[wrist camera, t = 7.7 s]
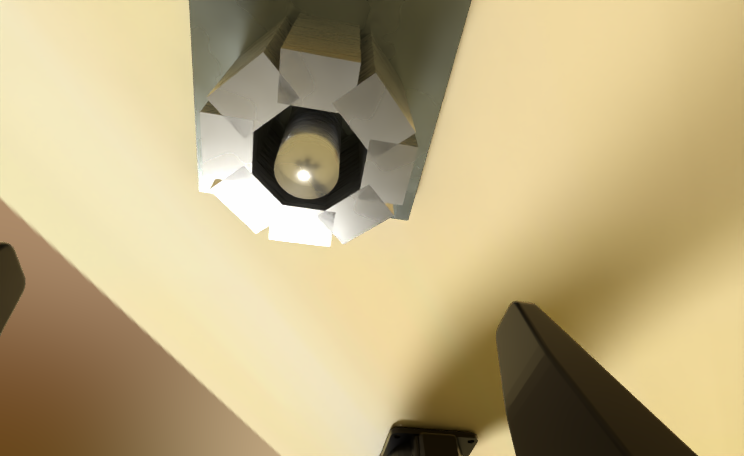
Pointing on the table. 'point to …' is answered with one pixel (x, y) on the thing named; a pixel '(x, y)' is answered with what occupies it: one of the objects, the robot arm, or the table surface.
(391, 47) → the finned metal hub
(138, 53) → the table surface
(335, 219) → the hub ring
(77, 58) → the table surface
